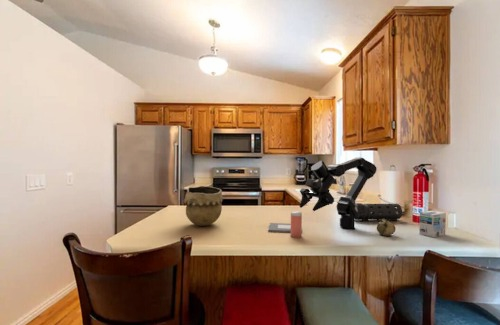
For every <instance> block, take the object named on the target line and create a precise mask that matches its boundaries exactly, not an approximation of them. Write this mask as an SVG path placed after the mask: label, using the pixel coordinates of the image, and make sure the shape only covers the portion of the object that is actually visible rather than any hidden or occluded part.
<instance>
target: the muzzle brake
mask: <svg viewBox="0 0 500 325" xmlns="http://www.w3.org/2000/svg"><path fill="white" fill-rule="evenodd" d="M355 205H356V207H355V209H356V211H357V212H358V216H357V217H356V218H355V220H356V221H357V220H359V221H360V220H361V221H362V222H368V221H369V220H371V221H375V220H376V221H378V222H380V221H382V219H385V220H386V221H398V220H399V219H401V218H402V215H403V208H402V206H401V204H399V203H361V202H360V203H359V202H355Z"/></svg>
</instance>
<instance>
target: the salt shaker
mask: <svg viewBox="0 0 500 325" xmlns="http://www.w3.org/2000/svg"><path fill="white" fill-rule="evenodd" d="M302 220H303V215H302V212H301V211H297V210H296V211H291V212H290V224H291V233H289V234H290V237H291V238H294V239H300V238H302V235H303V234H302V233H303V230H302V228H303V226H302V223H303V222H302Z"/></svg>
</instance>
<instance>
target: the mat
mask: <svg viewBox="0 0 500 325" xmlns="http://www.w3.org/2000/svg"><path fill="white" fill-rule="evenodd" d="M267 231H268V233H285V234H286V233H288V234H291V223H284V222H283V223H282V222H281V223H280V222H270V223H269V226H268V230H267Z"/></svg>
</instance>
